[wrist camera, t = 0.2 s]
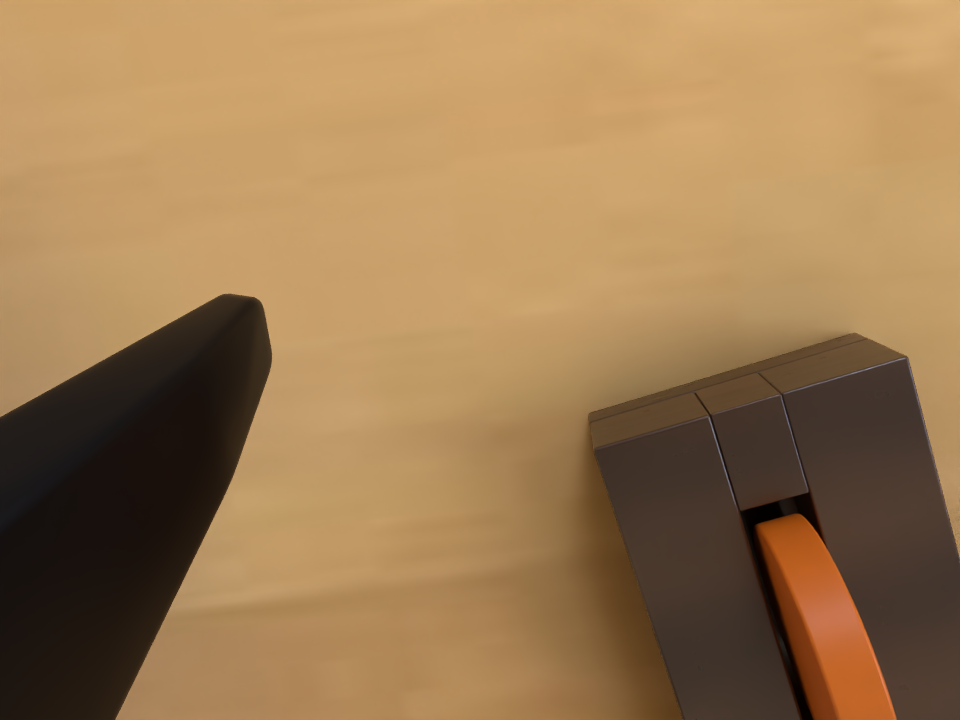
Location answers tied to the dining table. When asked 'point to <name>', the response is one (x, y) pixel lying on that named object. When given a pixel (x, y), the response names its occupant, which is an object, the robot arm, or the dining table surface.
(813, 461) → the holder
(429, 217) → the dining table surface
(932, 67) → the dining table surface
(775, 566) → the token
